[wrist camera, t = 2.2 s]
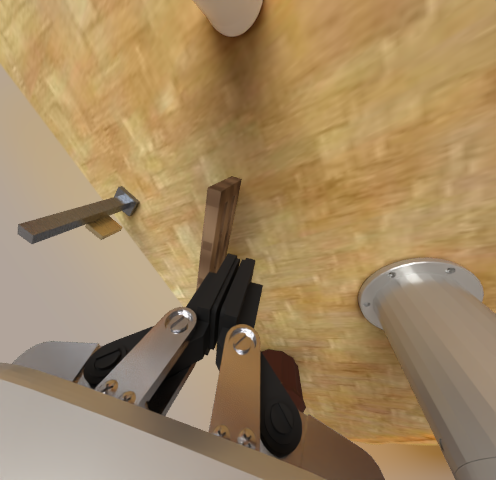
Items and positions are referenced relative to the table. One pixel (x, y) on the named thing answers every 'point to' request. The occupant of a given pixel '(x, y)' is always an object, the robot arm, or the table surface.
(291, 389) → the muffin
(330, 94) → the table surface
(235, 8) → the drinking glass
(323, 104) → the table surface
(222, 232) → the gate
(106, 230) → the post
